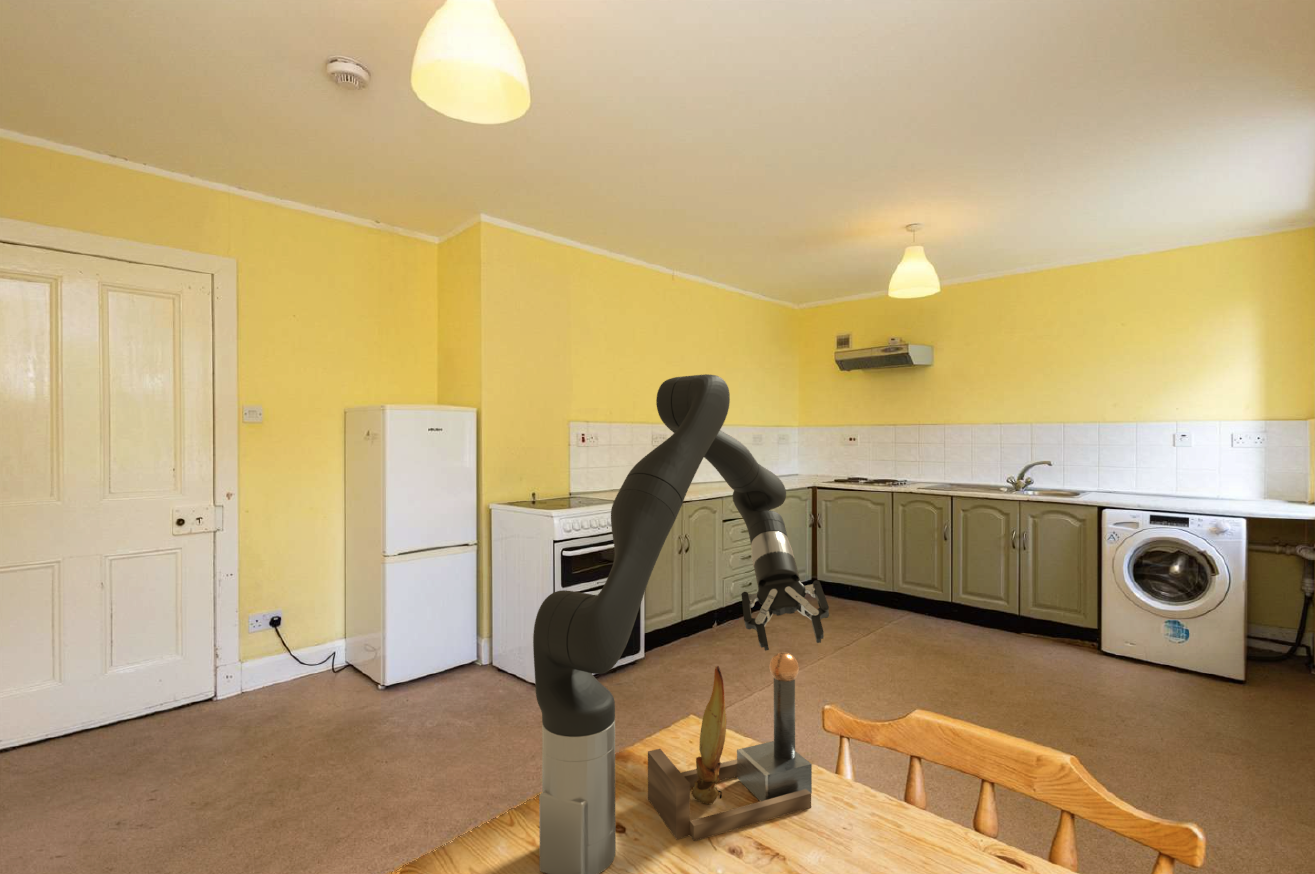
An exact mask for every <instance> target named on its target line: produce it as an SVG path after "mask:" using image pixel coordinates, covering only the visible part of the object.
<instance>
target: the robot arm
mask: <svg viewBox="0 0 1315 874" xmlns="http://www.w3.org/2000/svg"><path fill="white" fill-rule="evenodd" d="M730 400H731V399H730V389H729V385H728V384H727V382H726V380H724V379H723V378H722V377H720V376H718V375H715V374H706V373H705V374H694V375H684V376H676V377H675V376H674V377H671V378H669V379H666V380H664V381H663V382H662V383H661V384H660V385H659V388H658V390H657V393H656V400H655V401H656V403H655V405H656V411H657V412H658V416H659V418H660V420H661V421H662V423H663V424H664V425H665V426H666V427H667V429H669V430H670V431H671V432H672V433H673V434H672V435H670V436H669V437H668V438H667V439H666V440H664V441H663V442H661V443H660V444H659V445H658V446H657V447H655V448H654V449H652V450H651V451H650V452H649V453H648V454H646V455H645V456H644V457H642V458H641V459H640V460H639V461H637V463H636V464H635V465H634V466H633V467H632V468H631V470H630V471H629V472H628V474H627V475H626V477H625V479H624V481H623V483H622V485H621V487H620V488H619V490H618V493H617V494H616V496H615V499H614V501H613V503H612V506H611V510H610V526H611V527H610V528H611V533H612V540H613V549H614V558H613V563H612V567H611V569H610V571H609V573H608V576H607V579H606V581H605V583H604V585H603V586H602V588H601V590H600V592H599V593H598V594H592V593H585V592H579V591H573V590H567V589H566V590H565V589H564V590H556V591H555V592H552V593H550V594H549V595H548V596H547V597H546V598H545V599H544V600H543V601H542V603H541V605H540V607H539V608H538V611H537V614H536V616H535V620H534V626H533V634H532V635H533V636H532V638H533V639H532V641H533V642H532V646H533V649H532V650H533V651H532V653H533V664H534V668H533V669H534V682H535V697H536V701H537V704H538V706H539V709H540V711H541V723H542V724H541V726H542V728H541V732H542V733H541V734H542V737H541V738H542V746H541V748H542V749H541V751H542V752H541V757H542V758H541V759H542V760H541V761H542V762H541V763H542V765H541V766H542V767H541V768H542V770H541V771H542V773H541V774H542V775H541V777H542V779H541V780H542V782H541V783H542V792H541V793H540V794H539V797H538V799H539V800H538V801H539V803H538V804H539V808H538V809H539V815H538V816H539V819H538V821H539V826H538V827H539V871H540V872H541V873H545V874H601V872H604V871H605V870H607V869H608V867H610V866H611V865H612V863H613V861H614V860H615V857H616V845H617V844H616V843H617V842H616V702H615V698H614V695H613V693H612V692H611V691H610V690H609V689H608V688H607V687H606V686H605V685H603V684H602V683H601V682H600V681H599V680H598V679H597V678H596V676H594V675H602V674H605V673H608V672H609V671H611V670H612V669H613V668H614V667H615V665H616V664H618V661H619V660H620V659H621V656H622V655H623V653H624V651H625V649H626V647H627V644H628V642H629V640H630V637H631V635H632V631H633V628H634V625H635V622H636V619H637V616H638V613H639V610H640V607H641V604H642V601H643V598H644V594H645V591H646V589H647V586H648V583H649V580H650V577H651V575H652V573H653V571H654V568H655V565H656V563H657V561H658V559H659V556H660V553H661V551H662V549H663V547H664V545H665V542H666V540H667V538H668V536H669V534H670V532H671V530H672V528H673V526H674V524H675V522H676V519H677V517H678V515H679V512H680V511H681V508H682V506H683V503H684V501H685V499H686V495H687V493H688V491H689V488H690V486H691V485H692V482H693V480H694V477H695V475H696V473H697V472H698V469H699V467H700V465H701V463H702V461H703V459H704V458H705V460H707V461H708V462H709V463H710V464H711V465H712V467H713V468H714V469H715V470H716V471H717V472H718V474H719V475H720V476H721V477H722V479H724V481H725V482H726V484H727V485H728V486H729V487H730V488H731V490H733V492H732V501H733V504H734V506H735V508H736V510H737V512H738V513H739V514H740V516H741V518H742V519H743V521H744V523H745V526H746V528H747V532H748V535H749V541H750V547H751V548H750V549H751V559H752V566H753V569H754V574H755V579H756V584H757V593H750V594H749V592H747V591H743V592H741V602H742V603H741V604H742V615H743V621H744V626H745V629H746V630H751V629H752V630H755V631H756V633H757V639H758V644H759V645H758V646H760V648H761V649H762V648H764V651H765V652H766V651H770V649H769V642H768V639H767V633H766V626H767V624H768V623H769V622H770V621H771V619H772V617H773V615H776V616H777V617H779V616H782V615H784V614H787V615H788V614H789V615H790V614H795V612H798V613H800V615H802V616H804V617H806V618H808V619H809V620H810V621H811V627H812V630H813V633H814V638H815V641H816V644H820V643H822V639H823V640H824V636H825V635H824V633H825V632H824V628H823V624H822V620H823V619H824V618H825V619H827V618H829V617H830V611H829V609H830V606H829V604H828V601H827V598H826V596H825V592H824V591H823V587H822V585H821V582H820V580H818V579H816V580H814V581H813V582H812V584H807V585H804V584H803V582H802V581H801V578H800V574H799V570H798V567H797V562H796V557H795V556H794V551H793V548H792V546H791V542H790V541H789V536H788V533H787V529H786V528H787V527H786V526H785V525H786V524H785V522H784V519H783V516H782V515H781V514H780V513H778V512H776V511H774V510H775V509H777V508H779V507H781V506H782V505H783V504H784V503H785V501H786V498H787V489H786V487H785V485H784V482H782V480H781V479H780V477H778V476H777V475H776V474H775V472H772V471H770V470H769V469H768V468H766V467H764V466H763V465H761V464H760V463H759V462H758V461H757V460H756V458H755V457H754V456H753V454H752V453H751V451H750V450H749V449H748V448H747V447H746V446H745V445H744V444H743V443H742V442H741V441H739V440H738V439H737V438H735V437H733V436H731V435H729V434H728V433H727V432H725V431H723V430H721V429H722V427H723V426H724V423H725V422H726V418H727V416H728V413H729V409H730V403H731V401H730ZM806 594H809V595H810V596H811V597H812V598H814V599H815V600H816V602H817V605H818V608H816V607H815V606H813V604H811V603H810V602H809V601H808V599H806V598H805V597H806V596H807V595H806ZM756 602H758V603H759V604H760V605H762V606H761V608H760V610H759V612H758V614H757V616H756V618H755V617H752V610H751V608H753V607H754V606H755V603H756ZM593 674H594V675H593Z"/></svg>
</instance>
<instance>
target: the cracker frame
mask: <svg viewBox="0 0 1315 874" xmlns="http://www.w3.org/2000/svg"><path fill="white" fill-rule="evenodd" d="M698 778H699V777H698V775H697V770H696V768H694V769H690V770H687V771H682V772H681V771H680V770H679V768H677V767H676V765H675V764H674V763H673V762H672V761H671V759H670V758H669V757H668V756H667V755H666V753H665V752H664V751H663V750H662V749H661V748H657V749H652V750H647V800H648V801H649V802H650V804H651V805H652V807H653V808H654V810H655V811H656V812H657V814H658V815H659V817H660V819H661V820H662V822H664V825H665V826H666V827H667V828H668V829H669V831H670V833H671V835H672V836H673V837H674V838H675V840H681V839H683V838H687V837H690V838H691V839H692V840H693V842H696V841H699V840H703V839H706V838H709V837H713V836H717V835H720V834H723V833H726V832H730V831H733V830H737V829H741V828H744V827H747V826H751V825H755V824H758V823H761V822H765V821H768V820H772V819H775V818H779V817H783V816H785V815H788V814H793V813H796V812H799V811H800V812H801V811H804V810H806V809H810V808H812V794H811V793H810V792H809V791H808V790H807V789H804V790H801V791H797V792H793V793H790V794H786V795H782V796H779V797H775V798H771V799H768V800H764V801H760V800H759V801H757V802H753V803H750V804H746V805H743V806H739V807H735V808H732V809H728V810H725V811H720V812H717V813H713V814H710V815H706V816H703V817H699V818H696V819H692V820H691V790H690V789H692V788H691V787H693V788H694V786H695V782H697V780H698ZM732 778H737V758H735V759H731V760H728V761H723V762H721V764H720V769H719V779H721V780H719V781H718V782H721V781H725V780H729V779H732Z"/></svg>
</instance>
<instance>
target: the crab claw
mask: <svg viewBox="0 0 1315 874" xmlns="http://www.w3.org/2000/svg"><path fill="white" fill-rule="evenodd" d="M714 667H715V668H714V673H713V674H714V677H713V685H712V691H711V695H710V697H709V700H708V703H707V704H706V707H705V709H704V712H703V715H702V720H701V721H702V722H701V726H700V727H701V728H700V733H699V744H698V745H699V746H698V747H699V752H700V753H699V754H700V756H697V757H695V763H696V768H695V769H696V770H697V775H698V777H699V778H698V780H697V782H695V786H694V787H691V788H690V789H691V790H690V795H691V797H692V798H693V799H694V800H696V801H697V802H700V803H702V804H704V805H713V804H714V803H715V802H716V800H717V798H718V796H719V799H722V796H723V792H722V790H719V789H718V788H717V787H716V784H717V783H718V782H720V781H719V780H721V779H719V769H720V764H721V763H722V762H721V757H722V754H723V750H724V747H725V741H726V736H727V734H726V732H727V720H728V719H727V712H726V701H725V700H726V699H725V686H724V678H723V675H722V670H721V669H720V666H719V665H716V666H714ZM721 781H722V780H721Z"/></svg>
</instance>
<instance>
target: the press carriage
mask: <svg viewBox="0 0 1315 874" xmlns="http://www.w3.org/2000/svg"><path fill="white" fill-rule="evenodd" d="M769 671H770V674H771V676H772V677H773V741H768V742H764V743H760V744H756V745H750V746H747V747H742V748H737V749H736V759H737V777H736V778H737V780H738V781H739V782H740V783H742V785H743V786H744V787H745V788H747V790H748V791H750V792H751V794H752V795H753V796H755V797H756V798H757V800H758V801H759V802H760V801H764V800H768V799H771V798H775V797H779V796H782V795H786V794H790V793H793V792H797V791H801V790H804V789H807V790H808V791H809V792H810V793H811V795H812V794H813V792H812V791H813V789H812V788H813V787H812V786H813V785H812V783H813V782H812V781H813V775H812V769H813V766H812V763H811V762H810V761H809V760H807V759H806V758H805V757H804V756H802V755H801V754H800V753H799V752H797V751H796V679H797V677H798V674H799V672H800V666H799V662H798V660H797V659H796V657H795V656H794V655H793V654H791V653H789V652H786V651H781V652H778V653H775V655H773V656H772V657H771V659H770V661H769Z"/></svg>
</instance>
